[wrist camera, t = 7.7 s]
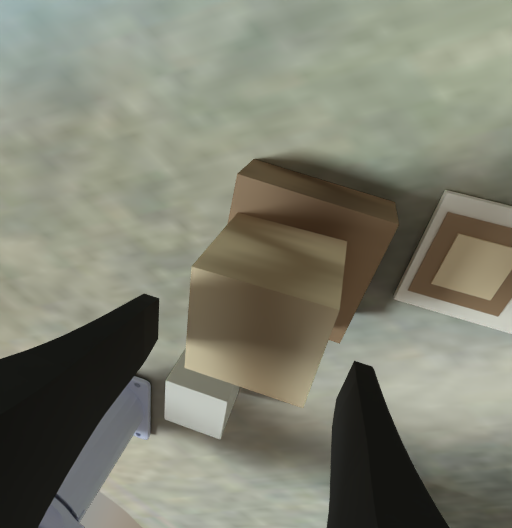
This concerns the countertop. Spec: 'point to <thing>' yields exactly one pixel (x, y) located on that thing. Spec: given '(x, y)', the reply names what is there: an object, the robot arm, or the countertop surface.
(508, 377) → the countertop surface
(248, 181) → the walnut block
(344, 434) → the robot arm
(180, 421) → the grey cube
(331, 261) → the maple cube
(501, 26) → the countertop surface
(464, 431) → the countertop surface
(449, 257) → the card
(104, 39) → the countertop surface
